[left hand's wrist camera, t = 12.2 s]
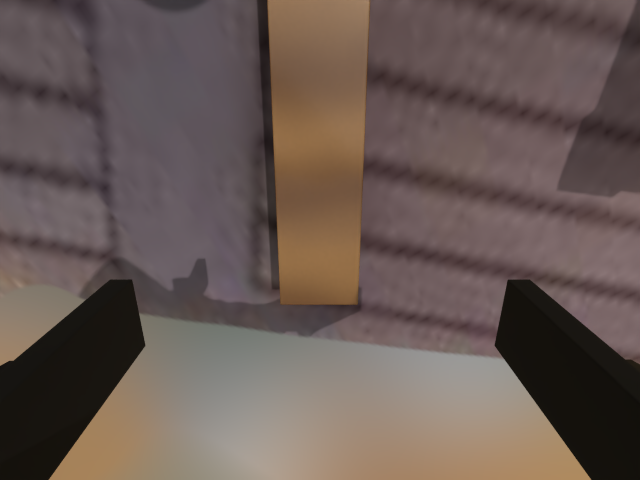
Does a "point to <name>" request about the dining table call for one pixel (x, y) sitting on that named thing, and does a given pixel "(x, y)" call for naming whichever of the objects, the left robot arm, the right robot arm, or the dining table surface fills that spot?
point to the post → (318, 145)
